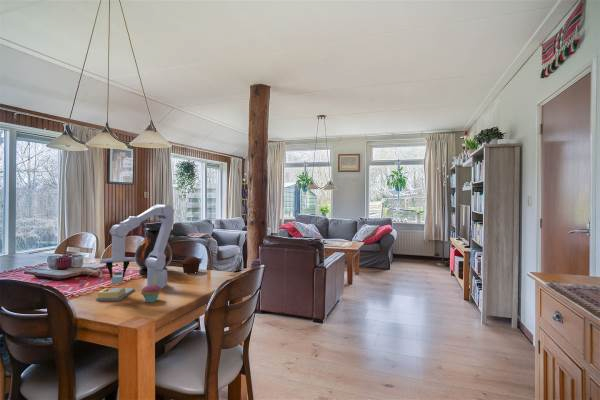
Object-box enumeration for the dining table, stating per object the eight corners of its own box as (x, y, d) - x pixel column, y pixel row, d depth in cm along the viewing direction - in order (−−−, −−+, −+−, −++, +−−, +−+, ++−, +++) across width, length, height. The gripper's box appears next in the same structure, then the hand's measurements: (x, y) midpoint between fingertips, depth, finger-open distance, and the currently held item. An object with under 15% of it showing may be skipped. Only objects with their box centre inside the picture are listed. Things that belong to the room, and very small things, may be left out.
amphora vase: (137, 269, 207) (139, 226, 207) (173, 268, 213) (174, 226, 213) (130, 277, 186) (132, 229, 186) (170, 275, 192) (171, 229, 192)
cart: (112, 280, 154) (112, 272, 154) (122, 280, 156) (123, 271, 156) (111, 284, 149) (111, 275, 149) (122, 283, 151) (122, 274, 151)
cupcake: (155, 296, 152) (156, 271, 152) (164, 300, 146) (165, 274, 146) (137, 300, 145) (138, 274, 145) (146, 305, 140) (146, 277, 140)
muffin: (180, 271, 205) (181, 255, 205) (198, 269, 211) (198, 254, 211) (183, 275, 195) (183, 259, 195) (201, 273, 200) (202, 257, 200)
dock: (134, 290, 160) (134, 283, 160) (119, 300, 144) (119, 292, 144) (113, 290, 159) (114, 283, 159) (96, 300, 143) (96, 292, 143)
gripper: (135, 247, 159) (134, 274, 159) (101, 248, 152) (100, 276, 152) (135, 249, 153) (134, 277, 153) (100, 251, 146) (99, 280, 146)
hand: (117, 277), depth 152 cm, fingers closed on cart, 4 cm apart
